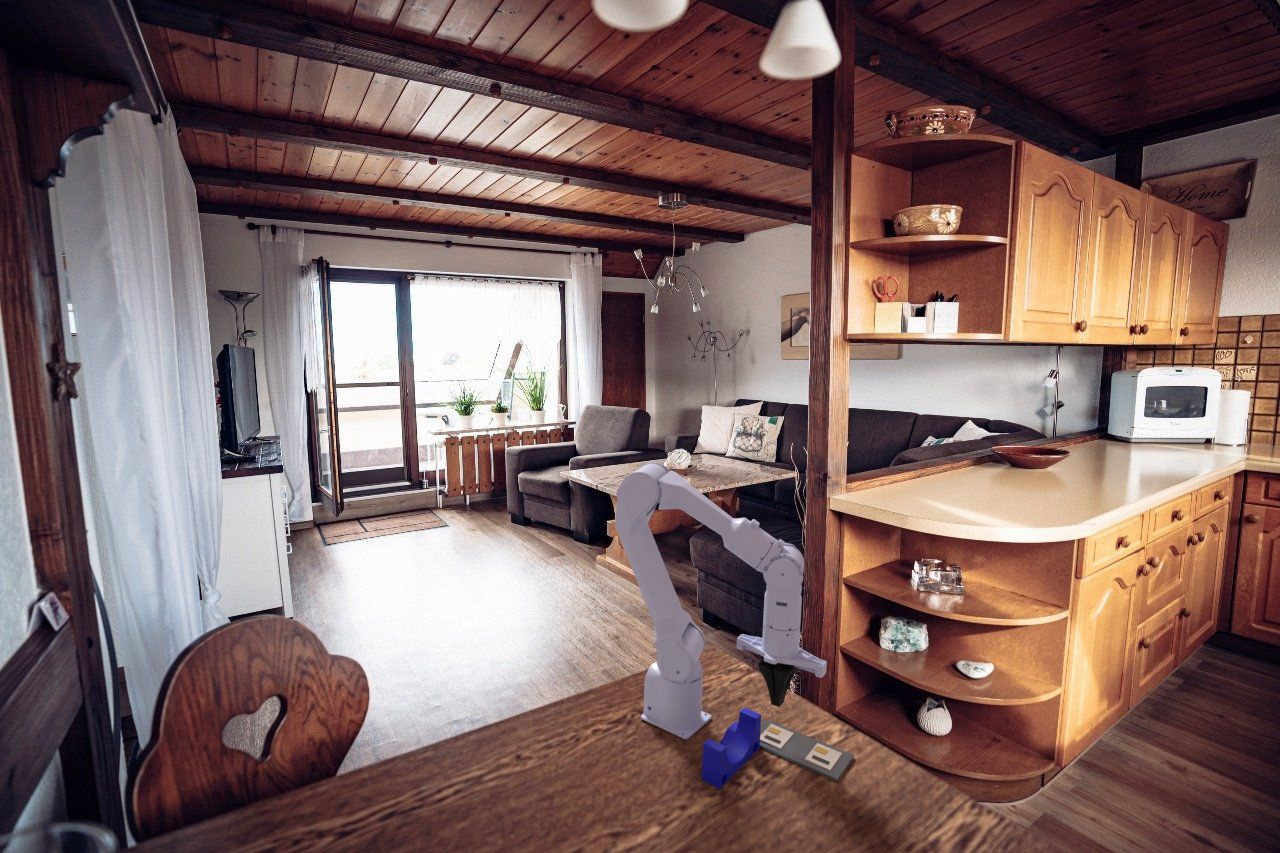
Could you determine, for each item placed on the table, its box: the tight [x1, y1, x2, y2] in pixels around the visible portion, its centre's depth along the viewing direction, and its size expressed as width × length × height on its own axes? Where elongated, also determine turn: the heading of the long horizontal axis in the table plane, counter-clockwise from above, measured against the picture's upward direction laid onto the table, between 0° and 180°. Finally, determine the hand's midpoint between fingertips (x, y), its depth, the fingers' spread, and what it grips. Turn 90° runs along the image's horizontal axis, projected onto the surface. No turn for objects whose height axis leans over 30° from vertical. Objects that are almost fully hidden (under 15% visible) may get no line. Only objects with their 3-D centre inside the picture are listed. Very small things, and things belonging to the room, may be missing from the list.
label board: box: [760, 718, 855, 783], centre depth 100 cm, size 15×7×1 cm, turn 53°
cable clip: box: [701, 707, 762, 790], centre depth 97 cm, size 12×4×6 cm, turn 141°
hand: (777, 703), depth 102 cm, fingers closed
